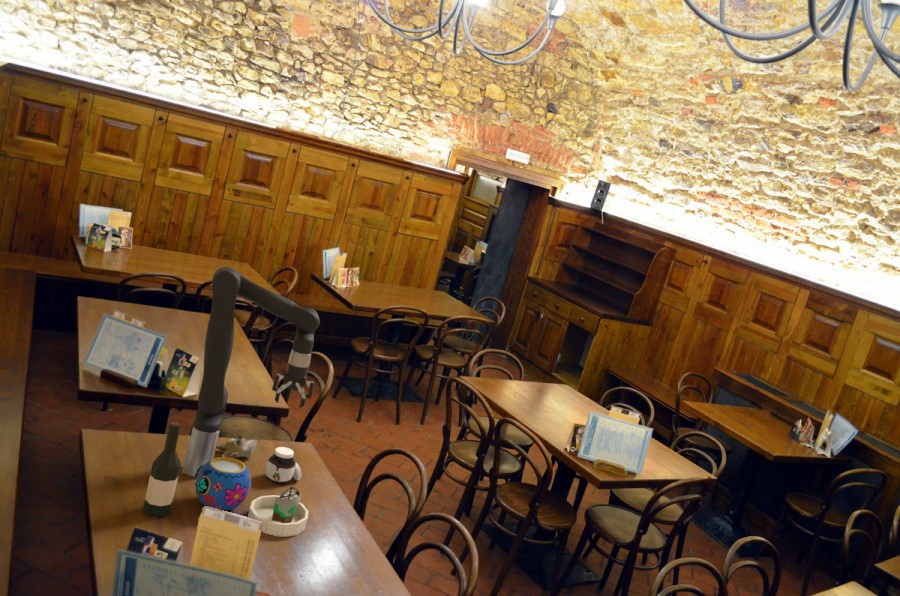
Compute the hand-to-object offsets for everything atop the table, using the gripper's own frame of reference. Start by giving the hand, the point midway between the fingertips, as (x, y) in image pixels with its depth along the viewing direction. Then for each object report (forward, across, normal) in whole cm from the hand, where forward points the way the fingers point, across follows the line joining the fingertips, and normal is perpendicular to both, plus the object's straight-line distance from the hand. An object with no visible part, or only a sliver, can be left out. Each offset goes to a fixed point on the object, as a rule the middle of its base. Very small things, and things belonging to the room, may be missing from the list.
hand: (288, 404), depth 266 cm
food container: (+30, +9, -29) cm, 43 cm away
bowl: (+30, +6, -29) cm, 42 cm away
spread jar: (+30, +4, +3) cm, 31 cm away
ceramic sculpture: (+30, -16, +14) cm, 37 cm away
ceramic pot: (+30, -14, -26) cm, 42 cm away
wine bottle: (+30, -31, -37) cm, 57 cm away
